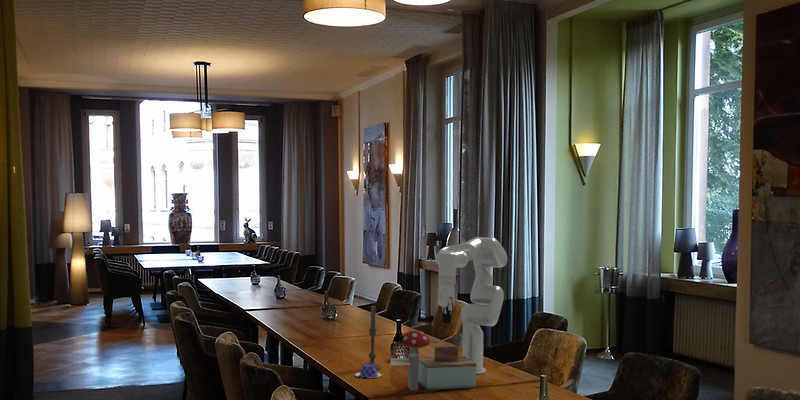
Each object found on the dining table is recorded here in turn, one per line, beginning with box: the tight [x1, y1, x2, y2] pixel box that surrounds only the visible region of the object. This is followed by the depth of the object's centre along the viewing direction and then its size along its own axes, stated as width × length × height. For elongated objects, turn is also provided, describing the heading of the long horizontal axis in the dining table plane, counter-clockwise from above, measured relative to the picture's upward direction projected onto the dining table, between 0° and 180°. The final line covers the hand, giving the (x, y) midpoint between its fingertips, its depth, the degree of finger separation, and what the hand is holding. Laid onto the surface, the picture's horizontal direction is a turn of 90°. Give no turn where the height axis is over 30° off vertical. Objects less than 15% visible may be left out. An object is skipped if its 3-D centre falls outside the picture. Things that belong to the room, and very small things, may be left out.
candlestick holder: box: [366, 304, 383, 371], centre depth 351 cm, size 9×9×30 cm
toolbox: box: [407, 353, 477, 392], centre depth 320 cm, size 15×29×14 cm, turn 104°
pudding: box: [354, 363, 383, 379], centre depth 335 cm, size 12×12×5 cm
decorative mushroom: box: [401, 329, 432, 357], centre depth 371 cm, size 16×16×15 cm
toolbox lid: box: [419, 345, 476, 368], centre depth 321 cm, size 14×22×8 cm, turn 104°
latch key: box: [389, 357, 411, 367], centre depth 311 cm, size 2×12×2 cm, turn 104°
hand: (446, 322), depth 322 cm, fingers closed
